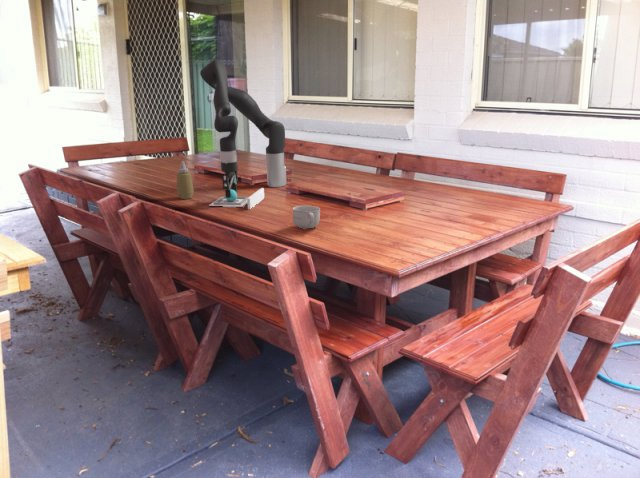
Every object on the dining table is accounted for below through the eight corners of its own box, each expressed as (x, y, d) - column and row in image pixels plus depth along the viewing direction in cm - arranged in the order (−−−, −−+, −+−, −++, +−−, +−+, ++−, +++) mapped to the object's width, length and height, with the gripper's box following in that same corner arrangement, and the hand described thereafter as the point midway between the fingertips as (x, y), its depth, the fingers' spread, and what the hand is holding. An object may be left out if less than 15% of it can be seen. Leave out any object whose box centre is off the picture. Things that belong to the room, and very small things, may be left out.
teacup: (292, 224, 241) (291, 205, 239) (319, 223, 242) (319, 203, 239) (294, 234, 228) (293, 213, 225) (322, 232, 229) (322, 212, 226)
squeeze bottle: (197, 196, 294) (194, 160, 289) (189, 200, 287) (185, 162, 281) (183, 195, 296) (179, 159, 291) (174, 199, 289) (170, 162, 284)
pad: (221, 198, 288) (221, 195, 288) (253, 199, 285) (253, 196, 285) (209, 206, 273) (208, 203, 273) (242, 207, 270) (242, 204, 270)
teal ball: (232, 199, 282) (231, 187, 281) (239, 200, 279) (239, 189, 277) (223, 201, 279) (222, 189, 277) (230, 203, 275) (230, 191, 273)
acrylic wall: (261, 198, 287) (261, 187, 286) (264, 198, 287) (263, 187, 285) (247, 209, 267) (247, 198, 265) (250, 209, 266) (249, 198, 265)
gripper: (226, 157, 281) (228, 191, 285) (215, 163, 267) (218, 198, 272) (241, 158, 279) (243, 192, 284) (231, 163, 266) (234, 199, 271)
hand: (231, 195), depth 278 cm, fingers open, 8 cm apart
